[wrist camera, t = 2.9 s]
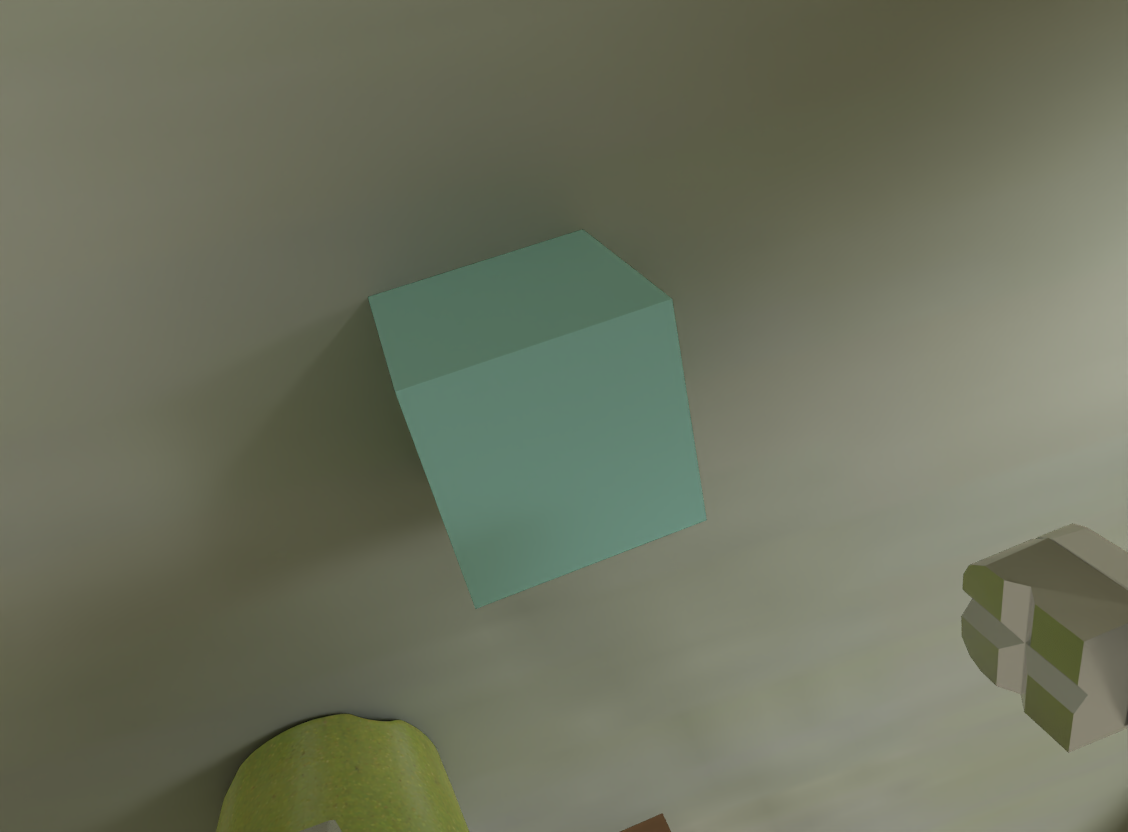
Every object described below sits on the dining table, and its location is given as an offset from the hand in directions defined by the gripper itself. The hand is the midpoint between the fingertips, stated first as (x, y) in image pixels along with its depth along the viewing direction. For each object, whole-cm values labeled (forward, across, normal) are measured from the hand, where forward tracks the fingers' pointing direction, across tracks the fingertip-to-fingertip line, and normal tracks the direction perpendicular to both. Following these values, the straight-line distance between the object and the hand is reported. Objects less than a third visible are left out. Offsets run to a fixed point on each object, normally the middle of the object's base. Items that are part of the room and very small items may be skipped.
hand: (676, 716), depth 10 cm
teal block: (+11, 0, 0) cm, 11 cm away
